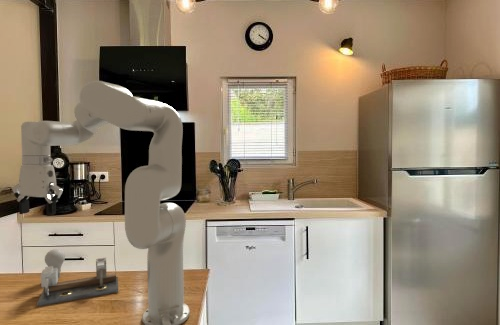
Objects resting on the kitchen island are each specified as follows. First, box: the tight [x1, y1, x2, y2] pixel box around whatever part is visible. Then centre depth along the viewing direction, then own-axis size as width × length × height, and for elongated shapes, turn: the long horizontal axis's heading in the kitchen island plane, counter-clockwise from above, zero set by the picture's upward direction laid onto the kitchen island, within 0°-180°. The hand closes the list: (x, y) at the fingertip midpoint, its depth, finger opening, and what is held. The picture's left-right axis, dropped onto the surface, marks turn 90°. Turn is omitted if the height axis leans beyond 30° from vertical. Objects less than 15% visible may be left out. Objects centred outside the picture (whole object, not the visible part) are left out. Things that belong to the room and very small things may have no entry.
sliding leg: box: [40, 266, 59, 296], centre depth 98 cm, size 7×4×7 cm, turn 24°
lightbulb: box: [44, 248, 66, 280], centre depth 110 cm, size 6×6×11 cm
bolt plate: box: [37, 276, 119, 307], centre depth 101 cm, size 10×22×1 cm, turn 114°
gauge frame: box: [43, 257, 117, 292], centre depth 102 cm, size 7×21×8 cm, turn 114°
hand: (37, 214), depth 100 cm, fingers open, 9 cm apart
